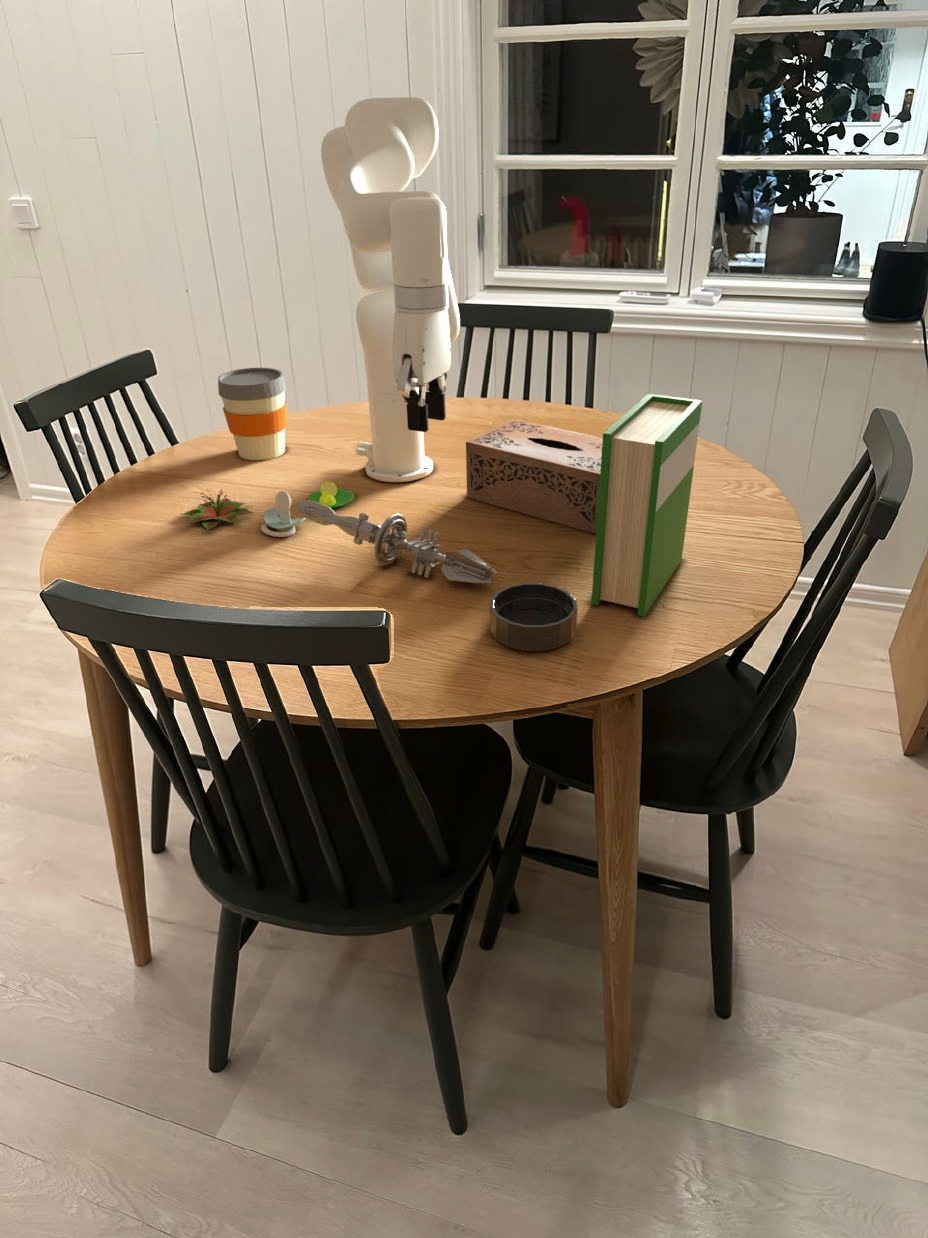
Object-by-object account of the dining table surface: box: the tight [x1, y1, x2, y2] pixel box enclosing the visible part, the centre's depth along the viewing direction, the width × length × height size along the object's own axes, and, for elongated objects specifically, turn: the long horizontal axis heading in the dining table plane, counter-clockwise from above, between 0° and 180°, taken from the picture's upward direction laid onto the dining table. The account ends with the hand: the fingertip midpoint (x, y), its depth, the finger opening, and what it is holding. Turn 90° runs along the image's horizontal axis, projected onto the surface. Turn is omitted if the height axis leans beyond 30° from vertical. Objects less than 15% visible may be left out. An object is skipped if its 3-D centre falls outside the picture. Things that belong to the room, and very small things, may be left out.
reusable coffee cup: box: [217, 367, 288, 461], centre depth 163 cm, size 13×13×15 cm
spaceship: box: [295, 499, 498, 585], centre depth 124 cm, size 8×35×8 cm
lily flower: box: [181, 488, 256, 531], centre depth 140 cm, size 12×12×5 cm
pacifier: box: [260, 490, 306, 538], centre depth 135 cm, size 7×6×6 cm
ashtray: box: [489, 582, 578, 653], centre depth 108 cm, size 11×11×4 cm
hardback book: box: [591, 393, 703, 617], centre depth 113 cm, size 18×7×24 cm, turn 152°
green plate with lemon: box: [307, 481, 355, 509], centre depth 145 cm, size 8×8×3 cm
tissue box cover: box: [465, 418, 603, 535], centre depth 142 cm, size 26×14×10 cm, turn 53°
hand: (427, 423), depth 126 cm, fingers open, 4 cm apart
